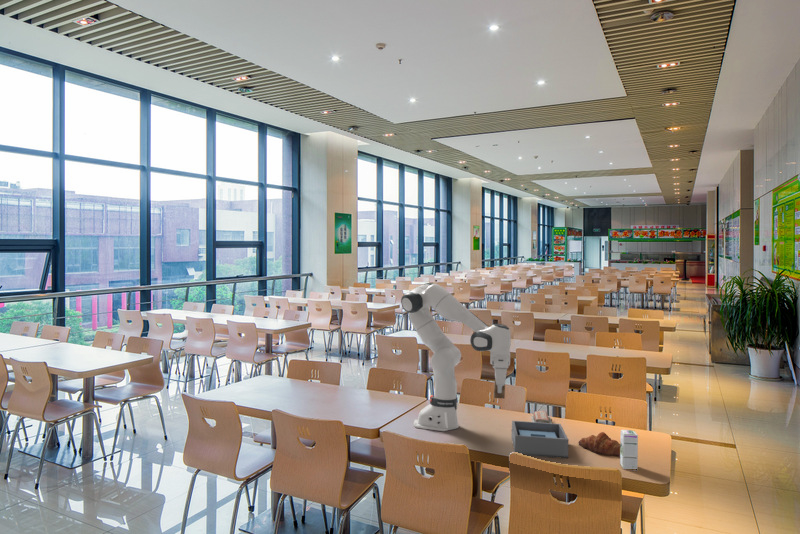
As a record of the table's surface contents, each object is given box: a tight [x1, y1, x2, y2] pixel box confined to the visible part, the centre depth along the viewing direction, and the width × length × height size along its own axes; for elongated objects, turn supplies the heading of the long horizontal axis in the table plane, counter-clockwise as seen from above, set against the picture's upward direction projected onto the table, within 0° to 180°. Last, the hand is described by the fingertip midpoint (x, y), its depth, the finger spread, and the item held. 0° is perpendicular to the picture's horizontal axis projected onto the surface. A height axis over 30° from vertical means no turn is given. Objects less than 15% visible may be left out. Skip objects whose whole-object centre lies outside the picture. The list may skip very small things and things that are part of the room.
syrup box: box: [619, 429, 639, 470], centre depth 219 cm, size 6×6×14 cm
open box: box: [511, 420, 569, 459], centre depth 240 cm, size 22×22×8 cm
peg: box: [493, 379, 506, 400], centre depth 242 cm, size 4×4×7 cm
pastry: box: [578, 431, 620, 457], centre depth 238 cm, size 17×15×8 cm
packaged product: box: [530, 410, 552, 423], centre depth 277 cm, size 18×5×10 cm
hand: (499, 391), depth 242 cm, fingers closed on peg, 4 cm apart
